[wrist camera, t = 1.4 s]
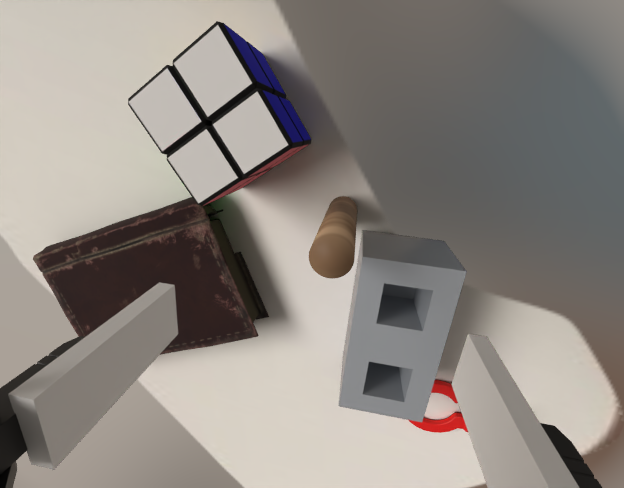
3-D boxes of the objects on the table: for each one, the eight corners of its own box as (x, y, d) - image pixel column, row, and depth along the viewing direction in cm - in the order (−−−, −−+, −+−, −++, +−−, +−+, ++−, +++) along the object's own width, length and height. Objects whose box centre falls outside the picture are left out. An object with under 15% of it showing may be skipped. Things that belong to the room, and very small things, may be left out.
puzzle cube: (313, 142, 33) (294, 146, 24) (240, 189, 36) (198, 209, 27) (261, 51, 31) (218, 16, 21) (188, 109, 34) (122, 100, 24)
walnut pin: (330, 194, 34) (310, 233, 21) (359, 198, 34) (357, 239, 21) (327, 222, 36) (307, 274, 23) (355, 225, 35) (350, 281, 22)
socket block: (362, 230, 35) (362, 256, 28) (444, 241, 34) (466, 271, 27) (342, 357, 42) (338, 406, 34) (411, 369, 41) (422, 422, 33)
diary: (62, 241, 43) (26, 253, 38) (217, 187, 37) (195, 194, 32) (126, 350, 48) (100, 374, 43) (271, 319, 42) (260, 342, 37)
